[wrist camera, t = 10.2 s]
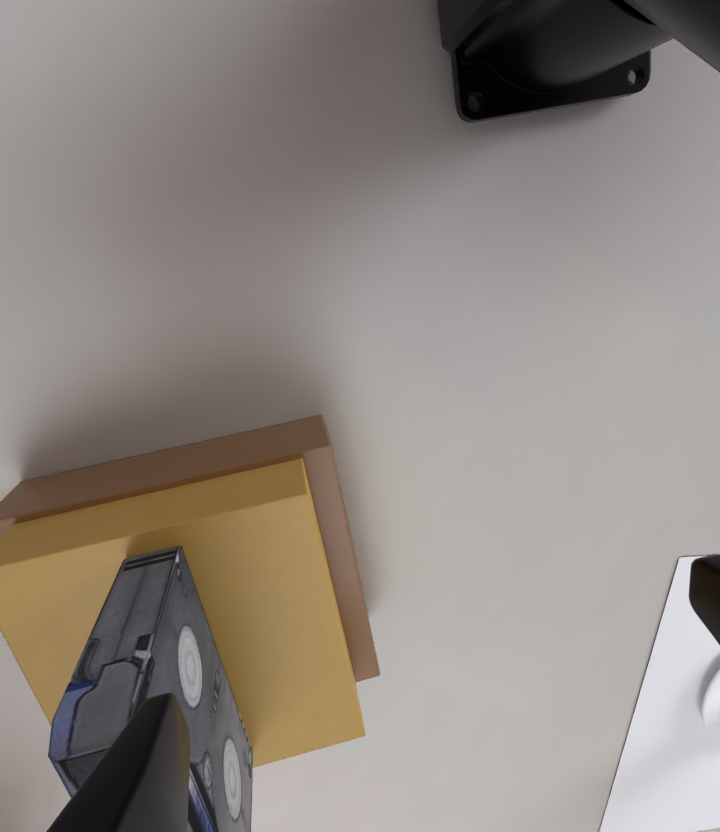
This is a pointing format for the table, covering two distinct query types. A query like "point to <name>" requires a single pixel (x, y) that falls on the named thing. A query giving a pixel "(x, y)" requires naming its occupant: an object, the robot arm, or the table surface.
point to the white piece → (673, 729)
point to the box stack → (205, 573)
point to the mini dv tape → (158, 689)
